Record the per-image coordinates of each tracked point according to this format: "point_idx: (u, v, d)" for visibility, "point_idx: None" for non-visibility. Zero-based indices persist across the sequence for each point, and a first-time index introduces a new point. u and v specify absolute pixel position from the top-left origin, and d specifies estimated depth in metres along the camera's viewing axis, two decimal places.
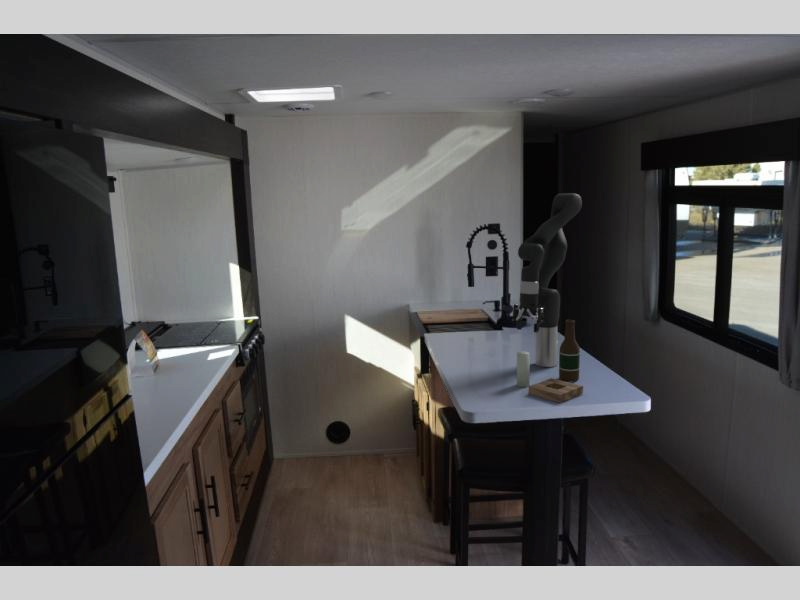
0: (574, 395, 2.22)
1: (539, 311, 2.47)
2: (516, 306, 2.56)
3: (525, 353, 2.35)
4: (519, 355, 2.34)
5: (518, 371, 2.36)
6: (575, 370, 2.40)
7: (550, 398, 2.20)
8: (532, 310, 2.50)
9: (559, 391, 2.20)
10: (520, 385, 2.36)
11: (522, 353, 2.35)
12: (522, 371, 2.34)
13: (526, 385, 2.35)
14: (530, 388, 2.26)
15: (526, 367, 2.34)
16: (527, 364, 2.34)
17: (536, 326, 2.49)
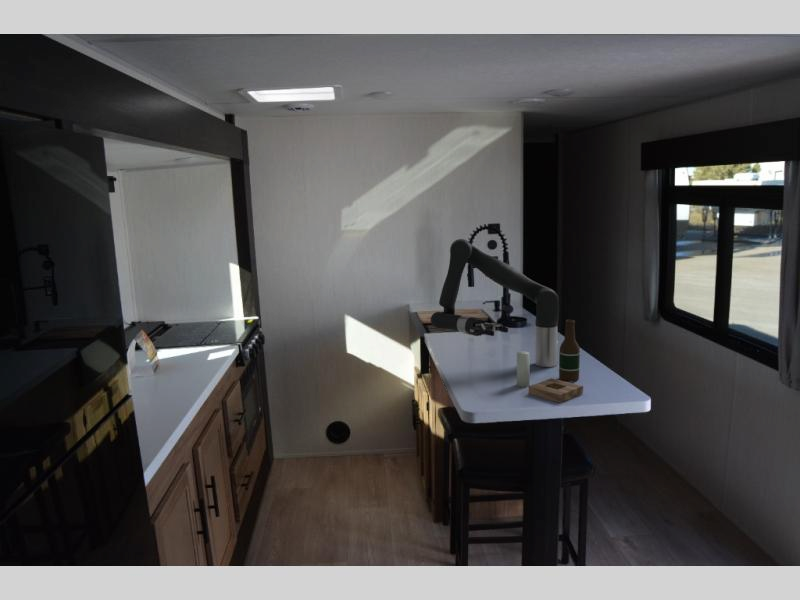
0: (574, 395, 2.22)
1: (472, 333, 2.45)
2: None
3: (525, 353, 2.35)
4: (519, 355, 2.34)
5: (518, 371, 2.36)
6: (575, 370, 2.40)
7: (550, 398, 2.20)
8: None
9: (559, 391, 2.20)
10: (520, 385, 2.36)
11: (522, 353, 2.35)
12: (522, 371, 2.34)
13: (526, 385, 2.35)
14: (530, 388, 2.26)
15: (526, 367, 2.34)
16: (527, 364, 2.34)
17: (487, 334, 2.41)
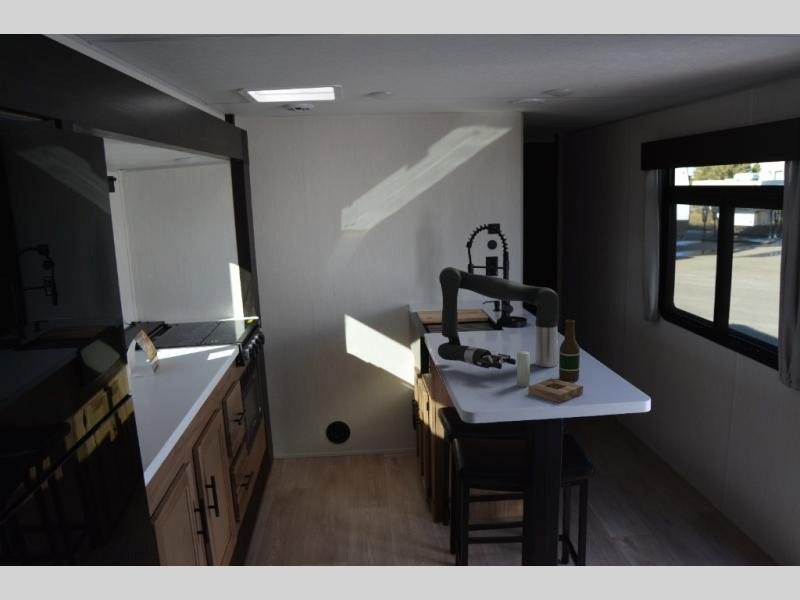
0: (574, 395, 2.22)
1: None
2: (498, 359, 2.53)
3: (525, 353, 2.34)
4: (519, 355, 2.34)
5: (518, 371, 2.35)
6: (575, 370, 2.40)
7: (550, 398, 2.20)
8: None
9: (559, 391, 2.20)
10: (520, 385, 2.36)
11: (522, 353, 2.35)
12: (522, 371, 2.34)
13: (526, 385, 2.35)
14: (530, 388, 2.26)
15: (526, 367, 2.34)
16: (527, 364, 2.34)
17: (495, 367, 2.41)
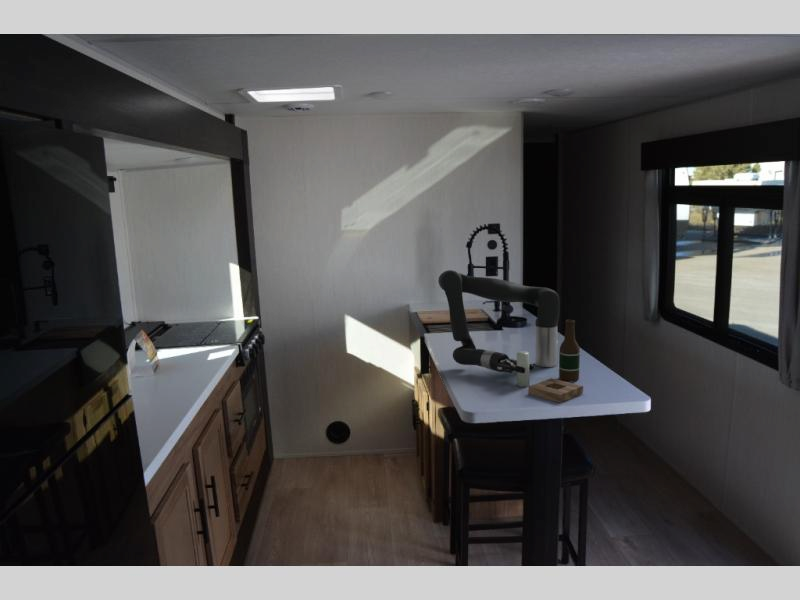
0: (574, 395, 2.22)
1: None
2: None
3: (525, 353, 2.35)
4: (519, 355, 2.34)
5: None
6: (575, 370, 2.40)
7: (550, 398, 2.20)
8: None
9: (559, 391, 2.20)
10: (520, 385, 2.36)
11: (522, 353, 2.35)
12: None
13: (526, 385, 2.35)
14: (530, 388, 2.26)
15: (526, 367, 2.34)
16: (527, 364, 2.34)
17: (517, 371, 2.34)
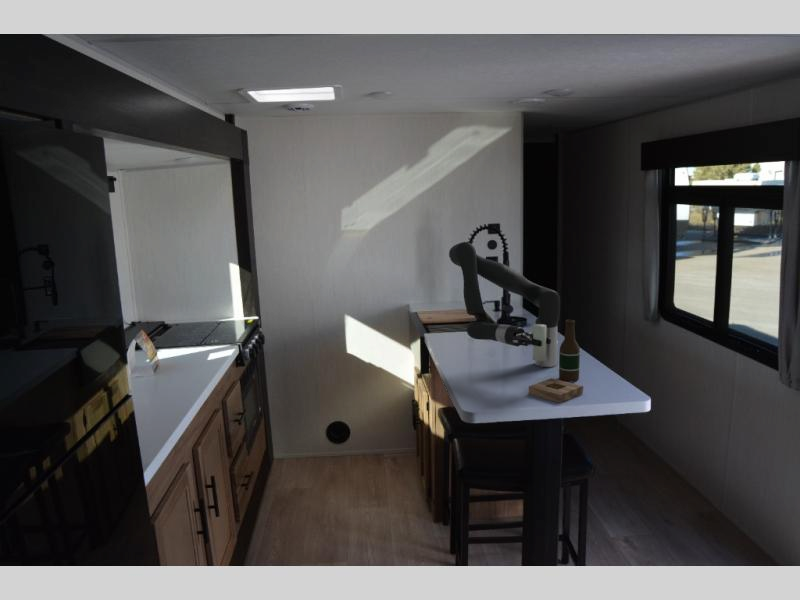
0: (574, 395, 2.22)
1: None
2: None
3: (542, 325, 2.26)
4: (535, 327, 2.26)
5: None
6: (575, 370, 2.40)
7: (550, 398, 2.20)
8: None
9: (559, 391, 2.20)
10: (536, 359, 2.27)
11: (538, 325, 2.27)
12: None
13: (543, 359, 2.27)
14: (530, 388, 2.26)
15: (543, 340, 2.26)
16: (544, 337, 2.26)
17: (534, 344, 2.26)
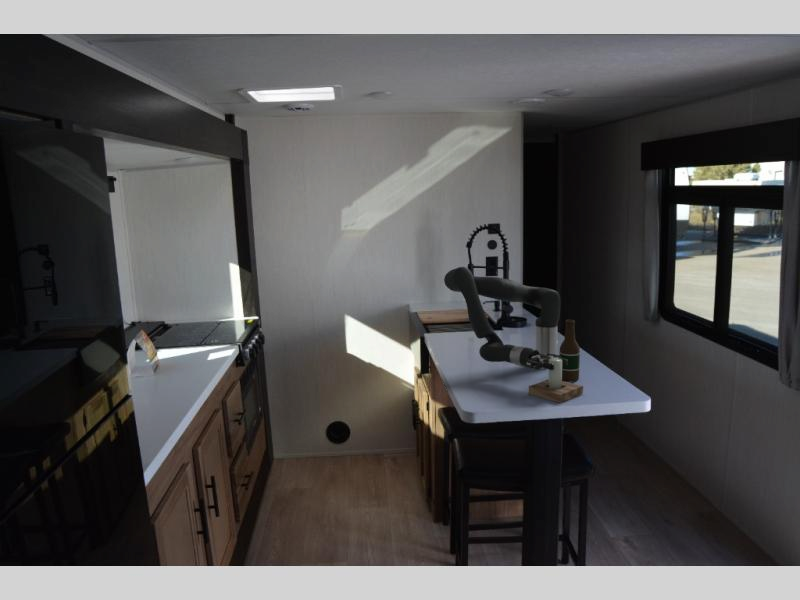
0: (574, 395, 2.22)
1: None
2: None
3: (557, 360, 2.23)
4: (551, 362, 2.23)
5: (550, 379, 2.24)
6: (575, 370, 2.40)
7: (550, 398, 2.20)
8: None
9: (559, 391, 2.20)
10: None
11: (554, 360, 2.23)
12: (555, 379, 2.23)
13: None
14: (530, 388, 2.26)
15: (559, 375, 2.23)
16: (560, 372, 2.23)
17: (546, 368, 2.22)
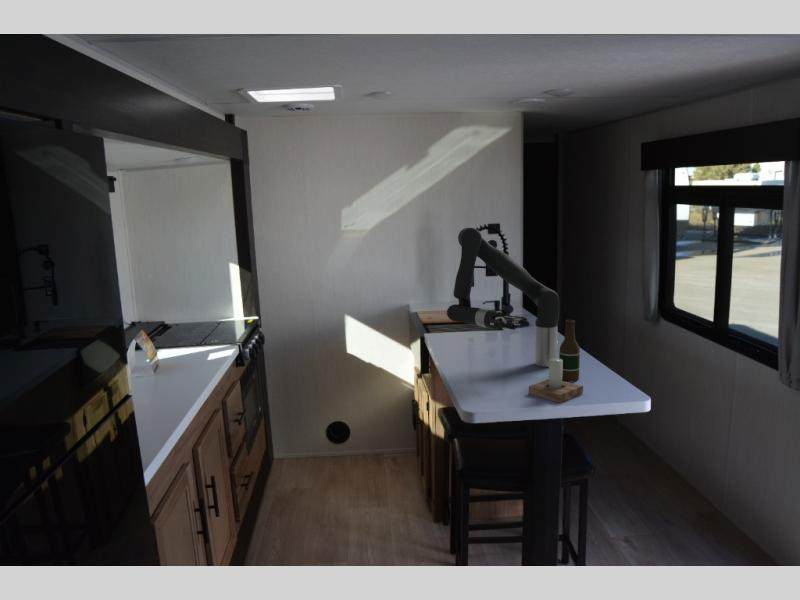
0: (574, 395, 2.22)
1: (492, 326, 2.37)
2: None
3: (558, 360, 2.23)
4: (552, 362, 2.23)
5: (550, 379, 2.24)
6: (575, 370, 2.40)
7: (550, 398, 2.20)
8: None
9: (559, 391, 2.20)
10: None
11: (555, 360, 2.23)
12: (555, 379, 2.23)
13: None
14: (530, 388, 2.26)
15: (559, 375, 2.23)
16: (560, 372, 2.23)
17: (508, 327, 2.34)
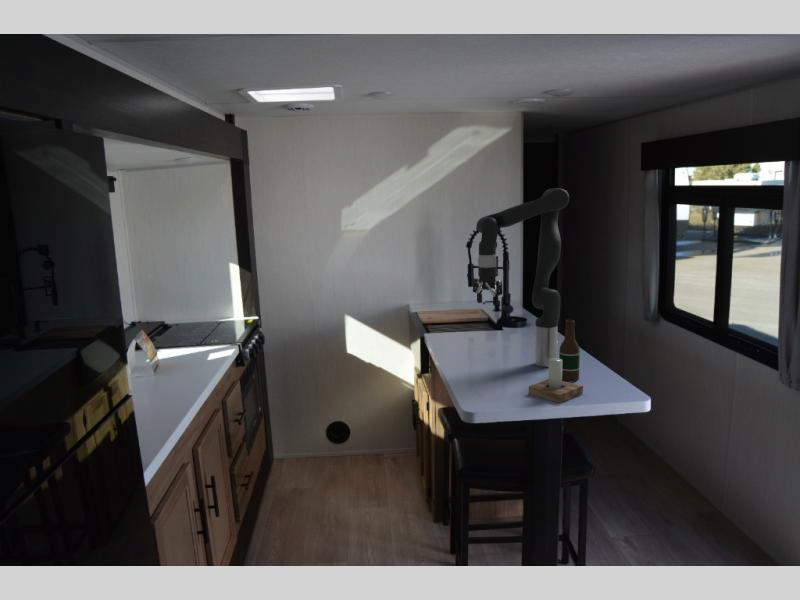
0: (574, 395, 2.22)
1: (497, 284, 2.50)
2: (475, 280, 2.59)
3: (558, 360, 2.23)
4: (551, 362, 2.23)
5: (550, 379, 2.24)
6: (575, 370, 2.40)
7: (550, 398, 2.20)
8: (490, 283, 2.52)
9: (559, 391, 2.20)
10: None
11: (554, 360, 2.24)
12: (555, 378, 2.23)
13: None
14: (530, 388, 2.26)
15: (559, 375, 2.23)
16: (560, 372, 2.23)
17: (495, 299, 2.52)
